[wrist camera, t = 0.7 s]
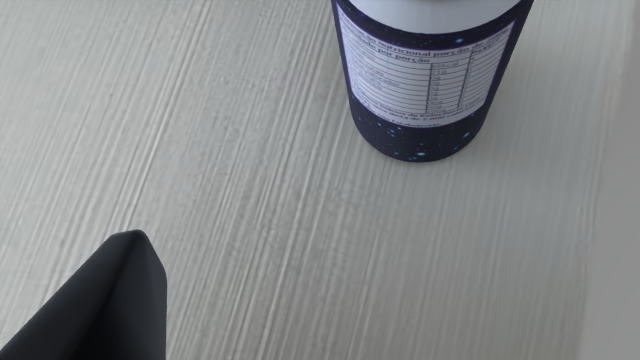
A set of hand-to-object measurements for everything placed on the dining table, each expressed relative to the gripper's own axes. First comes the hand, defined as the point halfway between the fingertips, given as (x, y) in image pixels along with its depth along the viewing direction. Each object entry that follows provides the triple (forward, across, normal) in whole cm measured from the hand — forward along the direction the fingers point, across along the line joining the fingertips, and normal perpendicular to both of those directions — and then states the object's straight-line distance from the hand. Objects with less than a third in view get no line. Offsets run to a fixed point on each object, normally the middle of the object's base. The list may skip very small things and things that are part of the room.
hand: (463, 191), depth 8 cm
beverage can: (+15, -2, +8) cm, 17 cm away
